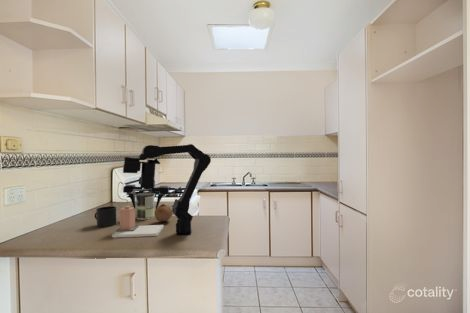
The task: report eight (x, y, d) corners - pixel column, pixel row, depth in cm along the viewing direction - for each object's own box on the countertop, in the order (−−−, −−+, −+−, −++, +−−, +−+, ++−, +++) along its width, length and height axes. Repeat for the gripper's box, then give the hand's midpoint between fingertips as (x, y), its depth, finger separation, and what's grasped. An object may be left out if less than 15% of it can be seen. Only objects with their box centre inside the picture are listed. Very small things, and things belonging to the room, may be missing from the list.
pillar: (135, 227, 127) (134, 205, 127) (129, 230, 122) (129, 207, 122) (125, 227, 128) (125, 205, 128) (120, 230, 123) (119, 207, 123)
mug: (101, 222, 144) (100, 206, 144) (120, 222, 142) (119, 206, 141) (88, 226, 135) (87, 209, 134) (108, 227, 132) (108, 210, 132)
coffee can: (135, 220, 146) (135, 195, 146) (137, 216, 156) (136, 193, 155) (154, 218, 149) (154, 194, 149) (154, 214, 159) (154, 192, 159)
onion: (161, 225, 134) (161, 206, 134) (151, 222, 140) (150, 204, 140) (176, 221, 142) (175, 203, 142) (165, 219, 148) (165, 201, 148)
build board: (163, 227, 131) (163, 223, 131) (157, 235, 117) (156, 231, 117) (123, 228, 130) (123, 225, 130) (111, 237, 116) (111, 233, 116)
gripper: (170, 172, 124) (168, 205, 124) (129, 170, 120) (126, 203, 120) (169, 175, 113) (167, 210, 113) (124, 173, 109) (121, 209, 109)
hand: (145, 208), depth 114 cm, fingers open, 9 cm apart
